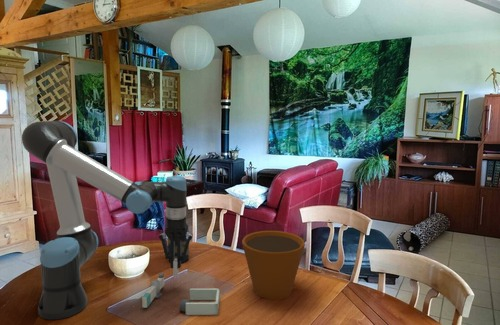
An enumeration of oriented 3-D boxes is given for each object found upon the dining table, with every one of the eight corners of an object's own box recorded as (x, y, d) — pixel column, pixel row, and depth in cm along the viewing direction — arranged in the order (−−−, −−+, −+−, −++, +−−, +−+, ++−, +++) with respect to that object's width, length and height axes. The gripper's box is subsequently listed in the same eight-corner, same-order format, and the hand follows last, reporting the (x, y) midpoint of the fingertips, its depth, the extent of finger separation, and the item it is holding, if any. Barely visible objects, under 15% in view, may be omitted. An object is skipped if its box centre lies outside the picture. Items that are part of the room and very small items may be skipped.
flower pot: (228, 290, 137) (229, 240, 135) (268, 271, 155) (269, 226, 152) (277, 314, 121) (278, 258, 119) (315, 289, 139) (317, 240, 136)
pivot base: (148, 298, 130) (148, 297, 130) (151, 292, 135) (151, 291, 135) (160, 298, 130) (160, 296, 130) (162, 292, 135) (162, 291, 135)
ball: (180, 315, 121) (177, 304, 120) (182, 309, 125) (179, 298, 124) (191, 311, 121) (188, 300, 120) (193, 306, 125) (190, 295, 124)
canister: (186, 264, 161) (186, 225, 158) (165, 264, 161) (165, 225, 158) (190, 256, 170) (190, 219, 168) (170, 255, 170) (170, 219, 168)
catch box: (185, 314, 120) (185, 303, 120) (190, 298, 131) (189, 288, 130) (217, 314, 120) (217, 303, 120) (219, 298, 131) (219, 288, 130)
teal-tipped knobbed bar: (140, 307, 123) (140, 294, 122) (158, 284, 140) (158, 273, 139) (148, 307, 122) (148, 295, 122) (166, 284, 139) (165, 273, 139)
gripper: (156, 219, 131) (156, 280, 134) (192, 220, 132) (191, 280, 135) (161, 213, 139) (161, 271, 142) (194, 214, 139) (193, 271, 142)
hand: (175, 275), depth 138 cm, fingers closed
